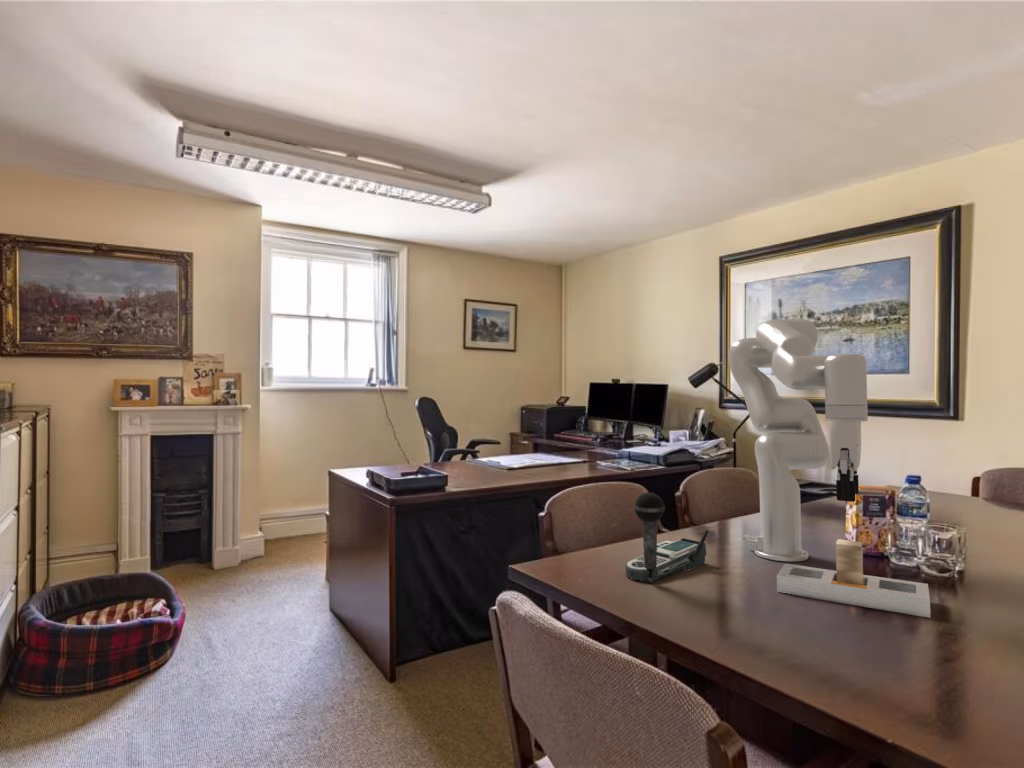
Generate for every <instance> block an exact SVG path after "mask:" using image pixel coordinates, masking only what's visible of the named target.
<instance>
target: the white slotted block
mask: <svg viewBox="0 0 1024 768" xmlns="http://www.w3.org/2000/svg"><path fill="white" fill-rule="evenodd" d="M780 592H781V594H785V593H787V594H786V595H791V594H792V596H797V595H798V597H804V598H810V599H816V600H821V601H829V602H834V603H839V604H846V605H851V606H858V607H864V608H867V609H873V610H874V609H875V610H881V611H886V612H893V613H898V614H904V615H911V616H915V617H916V616H917V617H921V618H929V619H931V598H930V590H929V584H928V583H924V582H917V581H911V580H904V579H895V578H888V577H881V576H874V575H868V574H863V585H858V584H852V583H845V582H838V581H837V575H836V570H834V569H826V568H819V567H818V568H817V567H814V566H813V567H812V566H811V567H810V566H805V565H798V564H790V563H784V564H783V565H782V567H781V568H780V570H779V571H778V573H777V575H776V593H780Z"/></svg>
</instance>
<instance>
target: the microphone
mask: <svg viewBox="0 0 1024 768" xmlns="http://www.w3.org/2000/svg"><path fill="white" fill-rule="evenodd" d="M633 509H634V512H635V515H636V516H637V518H639V520H641V525H642V544H643V546H642V547H643V550H644V567H645V568H647V571H649V578H648V581H647V582H648V584H653V583H654V581H655V580H654V579H653V578H652V571H654V569H656V564H657V543H658V521H659V520H661V518H662V517H663V516H664V513H665V510H666V506H665V503H664V500H663V499H662V497H660V495H658V494H656V493H653V492H645V493H642V494H640V495H639V496H638V497H637V498H636V499H635V502H634V505H633Z"/></svg>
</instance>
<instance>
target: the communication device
mask: <svg viewBox="0 0 1024 768" xmlns="http://www.w3.org/2000/svg"><path fill="white" fill-rule="evenodd" d="M708 534H709V530H707V529H706V530H705V532H704V533H703V536H702V537H701V539H700V541H698V540H693V539H688V538H685V537H683V538H680V540H679V539H677V540H674V541H672V540H666V539H665V541H662V542H657V564H656V569H654V571H652V578H653V579H654V581H657V580H659V579H662V578H664V577H667V576H668V575H670V574H673V573H675V572H676V571H679V570H680V569H681V570H680V571H683V570H685V571H689V570H688V569H690V570H692V569H695V568H697V567H699V566H701V565H703V564H705V562H706V556H707V545H706V543H705V542H706V539H707V536H708ZM641 552H642V555H641V556H638V557H635V558H633V559H631V560H629V561H628V562H626V564H625V565H624V567H625V575H626V577H627V578H629V579H630V578H632V579H635V580H634V581H636V580H642V581H641V582H648V578H649V571H647V568H645V567H644V549H642V551H641ZM694 567H695V568H694ZM691 568H692V569H691ZM686 569H687V570H686ZM663 576H664V577H663ZM661 577H662V578H661ZM658 578H659V579H658ZM632 579H631V580H632ZM656 579H657V580H656Z"/></svg>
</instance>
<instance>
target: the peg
mask: <svg viewBox="0 0 1024 768" xmlns="http://www.w3.org/2000/svg"><path fill="white" fill-rule="evenodd" d="M863 554H864V553H863V541H859V540H858V541H857V540H850V539H841V538H840V539H839V538H837V540H836V542H835V565H836V566H835V567H836V570H835V571H836V575H837V581H838V582H845V583H852V584H858V585H863V575H864V564H863V563H864V560H863V559H864V556H863Z"/></svg>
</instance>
